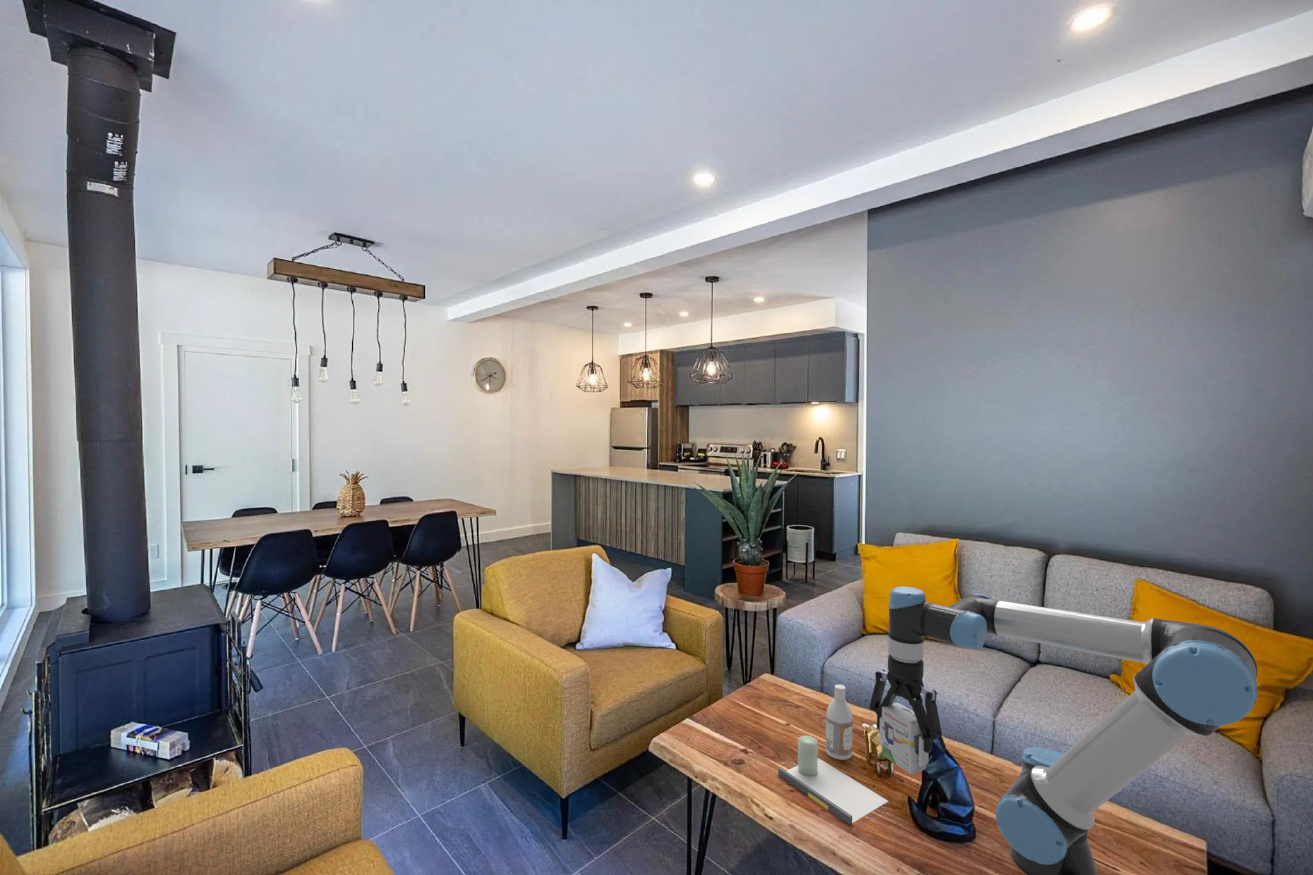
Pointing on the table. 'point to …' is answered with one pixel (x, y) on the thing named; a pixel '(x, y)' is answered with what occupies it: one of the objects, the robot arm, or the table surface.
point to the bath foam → (839, 726)
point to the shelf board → (835, 792)
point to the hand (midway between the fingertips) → (903, 753)
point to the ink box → (901, 737)
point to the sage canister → (807, 756)
